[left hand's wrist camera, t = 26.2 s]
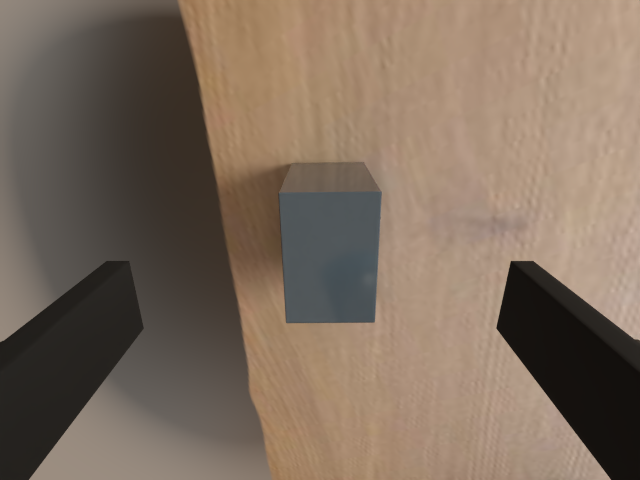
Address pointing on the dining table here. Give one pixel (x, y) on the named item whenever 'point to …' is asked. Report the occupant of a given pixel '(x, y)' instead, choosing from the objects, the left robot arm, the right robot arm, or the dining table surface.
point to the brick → (330, 242)
